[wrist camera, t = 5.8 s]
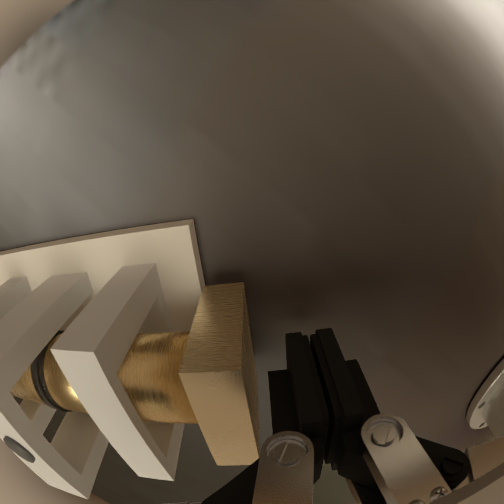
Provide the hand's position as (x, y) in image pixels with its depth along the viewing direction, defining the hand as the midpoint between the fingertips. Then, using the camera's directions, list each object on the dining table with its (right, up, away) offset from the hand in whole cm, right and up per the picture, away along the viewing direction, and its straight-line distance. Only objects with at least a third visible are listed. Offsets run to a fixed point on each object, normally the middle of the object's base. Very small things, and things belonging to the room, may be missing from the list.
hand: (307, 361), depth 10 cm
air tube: (-10, 0, +2) cm, 10 cm away
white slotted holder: (-10, 0, +4) cm, 11 cm away
